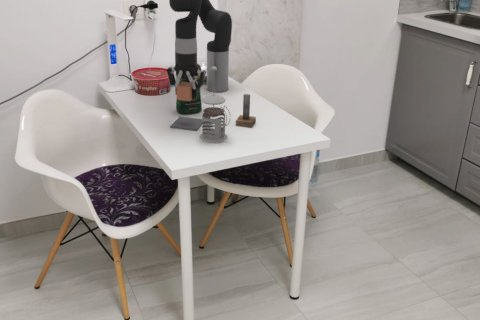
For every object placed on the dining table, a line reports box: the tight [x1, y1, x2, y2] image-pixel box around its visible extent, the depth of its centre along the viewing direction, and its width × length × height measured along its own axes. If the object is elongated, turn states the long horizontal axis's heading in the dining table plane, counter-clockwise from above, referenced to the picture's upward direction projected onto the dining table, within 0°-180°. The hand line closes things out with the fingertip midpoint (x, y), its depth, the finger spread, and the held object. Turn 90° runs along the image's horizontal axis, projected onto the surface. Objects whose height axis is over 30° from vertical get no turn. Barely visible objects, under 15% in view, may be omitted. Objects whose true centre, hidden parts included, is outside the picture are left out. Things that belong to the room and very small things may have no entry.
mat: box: [169, 116, 203, 132], centre depth 194 cm, size 10×10×1 cm
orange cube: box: [175, 82, 193, 101], centre depth 188 cm, size 5×5×5 cm
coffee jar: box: [175, 63, 203, 115], centre depth 202 cm, size 10×8×19 cm
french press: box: [198, 66, 231, 144], centre depth 178 cm, size 10×12×25 cm
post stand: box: [235, 93, 257, 128], centre depth 194 cm, size 6×6×11 cm
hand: (186, 97), depth 190 cm, fingers closed on orange cube, 5 cm apart
